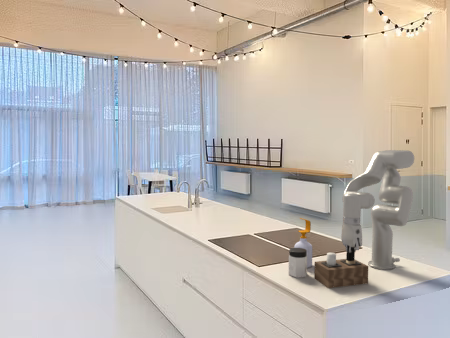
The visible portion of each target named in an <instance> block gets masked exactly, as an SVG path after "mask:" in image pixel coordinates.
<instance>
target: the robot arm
mask: <svg viewBox="0 0 450 338" xmlns="http://www.w3.org/2000/svg"><path fill="white" fill-rule="evenodd" d="M414 163H415V156H414V152H412V151H410V150H406V149H405V150H403V149H402V150H396V149H389V150H388V149H387V150H381V151H376V152H374V153H373V155H372V157H371V159H370V160H369V163H368V164H367V166H366V168H365V170H364V172H363V173H361V174H359V175H357V177H355V178H353V179H352V180H351V181H349V183H348V184H347V186H346V188H345V190H344V192H343V194H342V203H343V204H342V206H343V207H342V227H341V235H340V237H341V243H342V245H343V246H344V247H345V251H346V257H345V259H346V260H348V261H354V259H355V260H356V258H355V253H356V252H357V251H359V250H360V247H362V246H363V230H362V226H361V215H362V214H361V212H362V211H361V209H363V210H364V209H365V210H368V209H370V218H371V225H372V228H371V229H372V233H371V234H372V236H371V239H372V240H371V260H369V261H368V265H367V266H368V267H369V266H370V267H371V268H374V269H377V270H385V271H388V270H394V269H395V268H396V265H395V263H398V262H400V260H401V259H400V257H394V256H393V238H394V237H393V236H394V234H393V230H392V228H391V226H395V227H396V226H397V227H404V226H406V225H407V223H408V220H409V218H410V213H411V209H412V205H413V204H412V203H413V199H414V193H413V190H412V189H411V188H410V187H409V186H406V185H400V184H401V179H402V178H401V174H400V173H399V171H398V170H400V169H401V170H403V169H408V168H410V167H412V166H413V164H414ZM379 183H381V184H380V188H379V191H378V200H379V201H380V202H382V203H384V204H379V203H378V204H375V202H376V201H375V196H374V195H373V194H372V193H370V192H365V191H364V192H363V191H360V190H361V189H364V188H366V187H370V186H374V185H377V184H379ZM392 204H393V205H392ZM390 225H391V226H390Z"/></svg>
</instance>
